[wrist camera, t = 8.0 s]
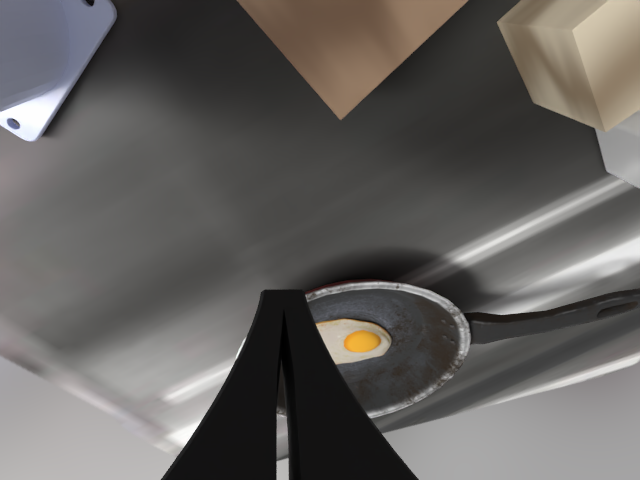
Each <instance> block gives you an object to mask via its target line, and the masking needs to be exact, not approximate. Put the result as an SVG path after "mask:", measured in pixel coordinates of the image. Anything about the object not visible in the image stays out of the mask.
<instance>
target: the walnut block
mask: <svg viewBox="0 0 640 480" xmlns="http://www.w3.org/2000/svg"><path fill="white" fill-rule="evenodd" d="M237 1H238V2H239V4H240V5H241V6H242V7H243V8H244V9H245V10H246V12H247V13H248V14H249V15H250V16H251V17H252V19H253V20H254V21H255V22H256V23H257V24H258V25H259V27H260V28H261V29H262V30H263V31H264V32H265V34H266V35H267V36H268V37H269V38H270V39H271V40H272V42H273V43H274V44H275V45H276V46H277V47H278V49H279V50H280V51H281V52H282V53H283V54H284V56H285V57H286V58H287V59H288V60H289V61H290V62H291V64H292V65H293V66H294V67H295V68H296V69H297V71H298V72H299V73H300V74H301V75H302V76H303V77H304V79H305V80H306V81H307V82H308V83H309V84H310V86H311V87H312V88H313V89H314V90H315V91H316V92H317V94H318V95H319V96H320V97H321V98H322V99H323V101H324V102H325V103H326V104H327V105H328V106H329V108H330V109H331V110H332V111H333V112H334V113H335V114H336V116H337V117H338V118H339V119H340V120H341V119H342V118H343V117H345V116H346V115H347V114H348V113H349V112H350V111H351V110H352V109H353V108H354V107H355V106H356V105H357V104H358V103H359V102H361V101H362V100H363V99H364V98H365V97H366V96H367V95H368V94H369V93H370V92H371V91H372V90H373V89H374V88H375V87H377V86H378V85H379V84H380V83H381V82H382V81H383V80H384V79H385V78H386V77H387V76H388V75H389V74H390V73H391V72H393V71H394V70H395V69H396V68H397V67H398V66H399V65H400V64H401V63H402V62H403V61H404V60H405V59H406V58H407V57H409V56H410V55H411V54H412V53H413V52H414V51H415V50H416V49H417V48H418V47H419V46H420V45H421V44H422V43H423V42H425V41H426V40H427V39H428V38H429V37H430V36H431V35H432V34H433V33H434V32H435V31H436V30H437V29H438V28H439V27H441V26H442V25H443V24H444V23H445V22H446V21H447V20H448V19H449V18H450V17H451V16H452V15H453V14H454V13H455V12H457V11H458V10H459V9H460V8H461V7H462V6H463V5H464V4H465V3H466V2H467V1H468V0H237Z"/></svg>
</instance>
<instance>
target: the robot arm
mask: <svg viewBox="0 0 640 480" xmlns="http://www.w3.org/2000/svg"><path fill="white" fill-rule="evenodd" d="M116 18H117V11H116V8H115V6H114V4H113V3H112V2H111V0H95V2H94V5H93V6H91V5H89V4H88V3H87V2H86V0H0V125H1V126H3V127H4V128H6V129H7V130H9V131H11V132H12V133H14V134H15V135H17V136H19V137H20V138H22V139H24V140H26V141H36V140H37V139H39V138H40V137H41V136H42V135H43V133H44V132H45V130H46V128H47V127H48V125H49V124H50V122H51V121H52V119H53V117H54V116H55V114H56V113H57V111H58V110H59V108H60V107H61V105H62V103H63V102H64V100H65V99H66V97H67V96H68V94H69V92H70V91H71V89H72V88H73V86H74V85H75V83H76V82H77V80H78V78H79V77H80V75H81V74H82V72H83V71H84V69H85V68H86V66H87V64H88V63H89V61H90V60H91V58H92V57H93V55H94V53H95V52H96V50H97V49H98V47H99V46H100V44H101V43H102V41H103V39H104V38H105V36H106V35H107V33H108V32H109V30H110V29H111V27H112V25H113V24H114V22H115V21H116ZM12 118H13V119H15V120H17V121H18V122H19V124H20V127H19V126H17V125H16V124H15V123H14V122H13V120H12ZM281 361H282V372H283V383H284V394H285V405H286V415H287V426H288V445H289V480H419V479H418V478H417V477H416V476H415V475H414V474H413V473H412V471H411V470H410V469H409V468H408V467H407V465H406V464H405V463H404V462H403V460H402V459H401V458H400V457H399V456H398V454H397V453H396V452H395V451H394V449H393V448H392V447H391V446H390V444H389V443H388V442H387V440H386V439H385V438H384V436H383V435H382V434H381V432H380V431H379V430H378V428H377V427H376V426H375V424H374V423H373V422H372V420H371V419H370V418H369V416H368V415H367V413H366V412H365V410H364V409H363V408H362V406H361V405H360V403H359V402H358V400H357V399H356V397H355V396H354V394H353V393H352V391H351V389H350V388H349V386H348V385H347V383H346V381H345V380H344V378H343V376H342V375H341V373H340V371H339V369H338V368H337V366H336V364H335V362H334V360H333V359H332V357H331V355H330V353H329V351H328V349H327V347H326V345H325V343H324V341H323V339H322V337H321V335H320V333H319V330H318V328H317V326H316V324H315V321H314V319H313V316H312V314H311V311H310V308H309V305H308V302H307V299H306V295H305V292H304V291H303V290H263V291H262V292H261V296H260V301H259V305H258V308H257V311H256V314H255V317H254V320H253V323H252V325H251V328H250V330H249V333H248V335H247V337H246V340H245V342H244V345H243V347H242V349H241V351H240V353H239V355H238V357H237V359H236V361H235V363H234V365H233V367H232V369H231V371H230V373H229V375H228V377H227V379H226V381H225V382H224V384H223V386H222V388H221V390H220V391H219V393H218V395H217V396H216V398H215V400H214V402H213V403H212V405H211V407H210V408H209V410H208V411H207V413H206V415H205V416H204V418H203V419H202V421H201V422H200V424H199V426H198V427H197V429H196V430H195V432H194V433H193V435H192V436H191V438H190V439H189V441H188V442H187V444H186V445H185V447H184V448H183V450H182V451H181V452H180V454H179V455H178V457H177V458H176V459H175V461H174V462H173V464H172V465H171V466H170V468H169V469H168V471H167V472H166V473H165V475H164V476H163V478H162V479H161V480H276V429H277V402H278V391H279V380H280V369H281Z"/></svg>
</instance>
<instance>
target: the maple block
mask: <svg viewBox="0 0 640 480" xmlns="http://www.w3.org/2000/svg"><path fill="white" fill-rule="evenodd" d="M497 24H498V26H499V28H500V31H501V33H502V35H503V37H504V39H505V42H506V44H507V46H508V48H509V50H510V53H511V55H512V57H513V59H514V61H515V64H516V66H517V68H518V70H519V72H520V75H521V77H522V79H523V81H524V83H525V85H526V88H527V90H528V92H529V94H530V96H531V99H532V101H533V103H535V104H537V105H540V106H542V107H545V108H547V109H549V110H552V111H554V112H557V113H559V114H562V115H564V116H567V117H569V118H571V119H574V120H576V121H579V122H581V123H584V124H586V125H589V126H591V127H593V128H596V129H598V130H601V131H603V132H607V131H609V130H610V129H612V128H613V127H615V126H616V125H618V124H619V123H621V122H622V121H623V120H625V119H626V118H628V117H629V116H631V115H632V114H634V113H635V112H637V111H638V110H640V0H521V1H520V2H519V3H518V4H516V5H515V6H514V7H513V8H512V9H511V10H510V11H509V12H507V13H506V14H505V15H504V16H503V17H502V18H501V19H499V20H498V21H497Z"/></svg>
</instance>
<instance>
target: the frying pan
mask: <svg viewBox="0 0 640 480" xmlns="http://www.w3.org/2000/svg"><path fill="white" fill-rule="evenodd" d="M305 295H306V299H307V302H308V305H309V308H310V311H311V314H312V316H313V319H314V321H315V324H316V326H317V328H318V330H319V333H320V335H321V337H322V339H323V341H324V343H325V345H326V347H327V349H328V351H329V353H330V355H331V357H332V359H333V360H334V362H335V364H336V366H337V368H338V369H339V371H340V373H341V375H342V376H343V378H344V380H345V381H346V383H347V385H348V386H349V388H350V389H351V391H352V393H353V394H354V396H355V397H356V399H357V400H358V402H359V403H360V405H361V406H362V408H363V409H364V410H365V412H366V413H367V415H368V416H369V418H374V417H378V416H381V415H385V414H388V413H392V412H395V411H397V410H400V409H402V408H405V407H407V406H410V405H412V404H414V403H416V402H418V401H420V400H422V399H424V398H426V397H427V396H429V395H430V394H432V393H433V392H435V391H436V390H438V389H439V388H441V387H442V386H443V385H444V384H445V383H446V382H447V381H448V380H450V379H451V378H452V377H453V376H454V374H455V373H456V372H457V371H458V369H459V368H460V367H461V366H462V364H463V362H464V360H465V358H466V356H467V354H468V352H469V348H470V344H486V343H490V342H494V341H498V340H503V339H507V338H514V337H520V336H526V335H532V334H538V333H544V332H549V331H554V330H558V329H562V328H567V327H571V326H575V325H580V324H584V323H589V322H593V321H598V320H602V319H607V318H610V317H613V316H617V315H620V314H622V313H625V312H628V311H631V310H634V309H637V308H640V289H633V290H625V291H618V292H613V293H608V294H604V295H601V296H598V297H594V298H590V299H587V300H583V301H579V302H576V303H572V304H569V305H565V306H561V307H558V308H554V309H551V310H547V311H538V312H528V313H518V314H508V315H496V314H488V313H481V312H472V313H462V311H461V310H460V309H459V308H457V307H456V306H455V305H454V304H453V303H452V302H451V301H450V300H448V299H446V298H444V297H442V296H440V295H438V294H437V293H435V292H433V291H431V290H428V289H425V288H421V287H417V286H414V285H410V284H406V283H399V282H394V281H388V280H377V279H360V280H347V281H342V282H337V283H332V284H327V285H324V286H321V287H318V288H315V289H312V290H310V291H307V292H305ZM245 340H246V338H245V339H244V340H243V342H242V344H241V346H240V348H239V351H238V353H237V355H236V359H237V357H238V355H239V353H240V351H241V349H242V347H243V345H244V342H245ZM277 415H279V416H282V417H285V418H287V415H286V405H285V394H284V383H283V372H282V361H281V369H280V380H279V391H278V402H277Z"/></svg>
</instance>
